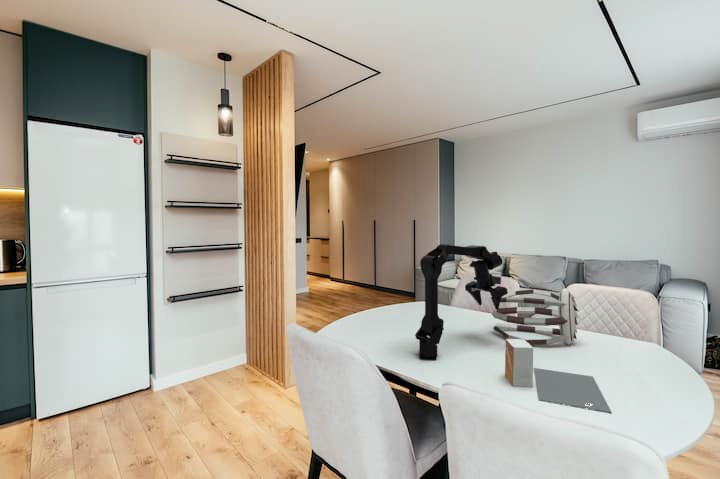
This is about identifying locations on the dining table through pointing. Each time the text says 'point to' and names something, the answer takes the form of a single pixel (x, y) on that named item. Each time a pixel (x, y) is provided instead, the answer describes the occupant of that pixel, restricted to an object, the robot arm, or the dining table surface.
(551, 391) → the mouse pad
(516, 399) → the dining table surface
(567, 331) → the decorative basket
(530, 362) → the small box
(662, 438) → the dining table surface
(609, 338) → the dining table surface
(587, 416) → the dining table surface
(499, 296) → the robot arm
